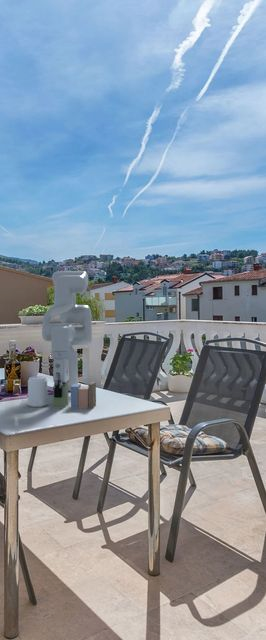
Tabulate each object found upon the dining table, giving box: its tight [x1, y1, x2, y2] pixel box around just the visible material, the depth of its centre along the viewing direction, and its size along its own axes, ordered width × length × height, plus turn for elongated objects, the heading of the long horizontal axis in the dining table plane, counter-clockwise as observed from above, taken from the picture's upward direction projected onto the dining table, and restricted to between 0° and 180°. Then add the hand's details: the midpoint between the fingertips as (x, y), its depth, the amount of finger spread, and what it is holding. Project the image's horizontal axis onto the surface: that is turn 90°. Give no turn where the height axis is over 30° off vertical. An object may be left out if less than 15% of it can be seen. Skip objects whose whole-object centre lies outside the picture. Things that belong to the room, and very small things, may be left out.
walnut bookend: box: [87, 381, 97, 409], centre depth 213 cm, size 7×2×10 cm, turn 175°
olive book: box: [52, 384, 69, 409], centre depth 214 cm, size 6×5×9 cm
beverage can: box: [27, 375, 49, 408], centre depth 215 cm, size 8×8×12 cm
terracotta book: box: [77, 385, 90, 409], centre depth 213 cm, size 6×4×8 cm, turn 175°
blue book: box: [70, 383, 82, 409], centre depth 214 cm, size 6×3×9 cm, turn 175°
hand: (60, 395), depth 214 cm, fingers open, 9 cm apart
